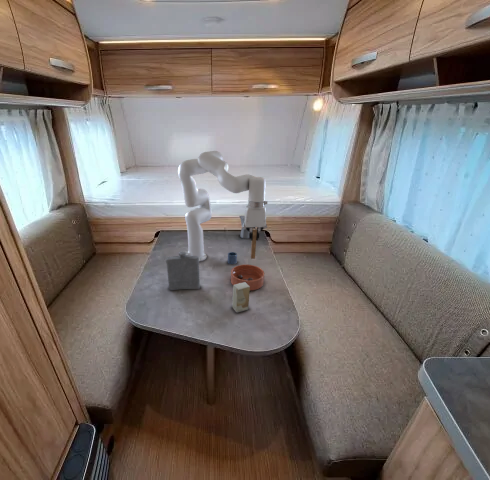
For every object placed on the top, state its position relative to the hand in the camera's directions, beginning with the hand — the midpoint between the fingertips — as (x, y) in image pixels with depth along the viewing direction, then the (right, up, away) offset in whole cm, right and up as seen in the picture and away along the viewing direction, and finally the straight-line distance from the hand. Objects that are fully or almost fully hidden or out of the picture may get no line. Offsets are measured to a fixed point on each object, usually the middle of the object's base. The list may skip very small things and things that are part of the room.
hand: (253, 239), depth 133 cm
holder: (-8, -14, +28) cm, 33 cm away
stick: (0, -10, +4) cm, 11 cm away
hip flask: (-35, -25, +5) cm, 44 cm away
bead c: (-1, -22, +6) cm, 22 cm away
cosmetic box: (-8, -32, -12) cm, 35 cm away
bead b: (-4, -22, +5) cm, 23 cm away
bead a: (-6, -20, +9) cm, 23 cm away
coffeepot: (+7, +2, +66) cm, 66 cm away
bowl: (-2, -23, +8) cm, 24 cm away
